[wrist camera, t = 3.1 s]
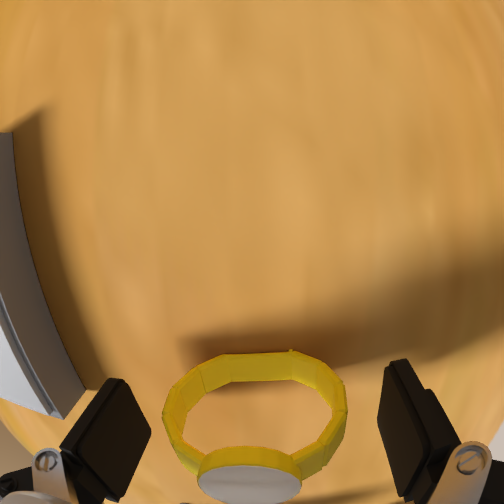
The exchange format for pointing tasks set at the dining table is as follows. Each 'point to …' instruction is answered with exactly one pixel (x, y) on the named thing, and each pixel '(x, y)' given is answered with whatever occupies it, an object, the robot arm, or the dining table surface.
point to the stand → (27, 315)
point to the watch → (250, 457)
